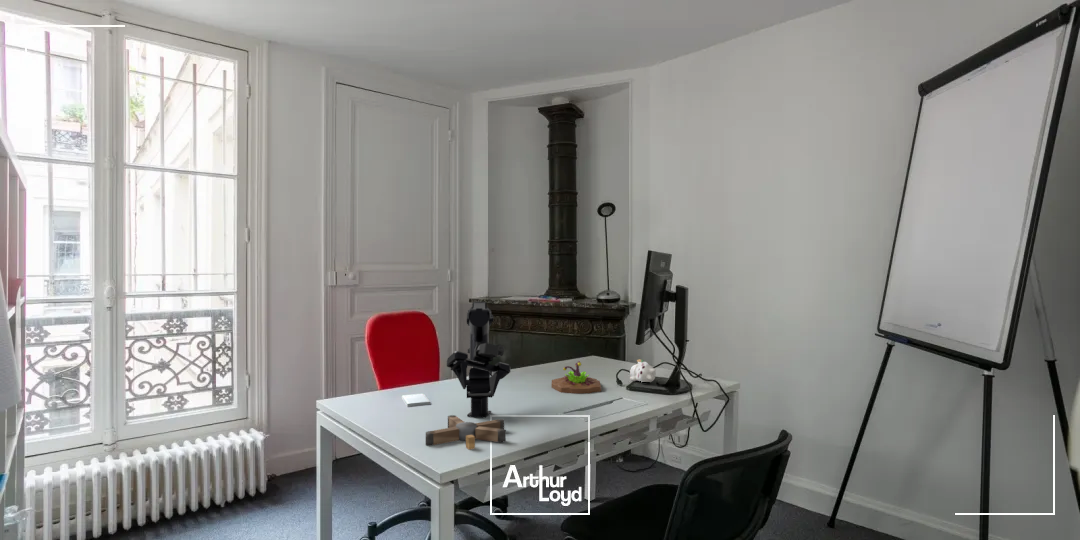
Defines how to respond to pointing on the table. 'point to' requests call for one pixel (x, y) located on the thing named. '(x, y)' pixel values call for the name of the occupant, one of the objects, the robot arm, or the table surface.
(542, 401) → the table surface
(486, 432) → the folding leg
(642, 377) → the cat figurine
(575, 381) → the plant
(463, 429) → the stool base
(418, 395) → the hard drive
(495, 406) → the table surface
